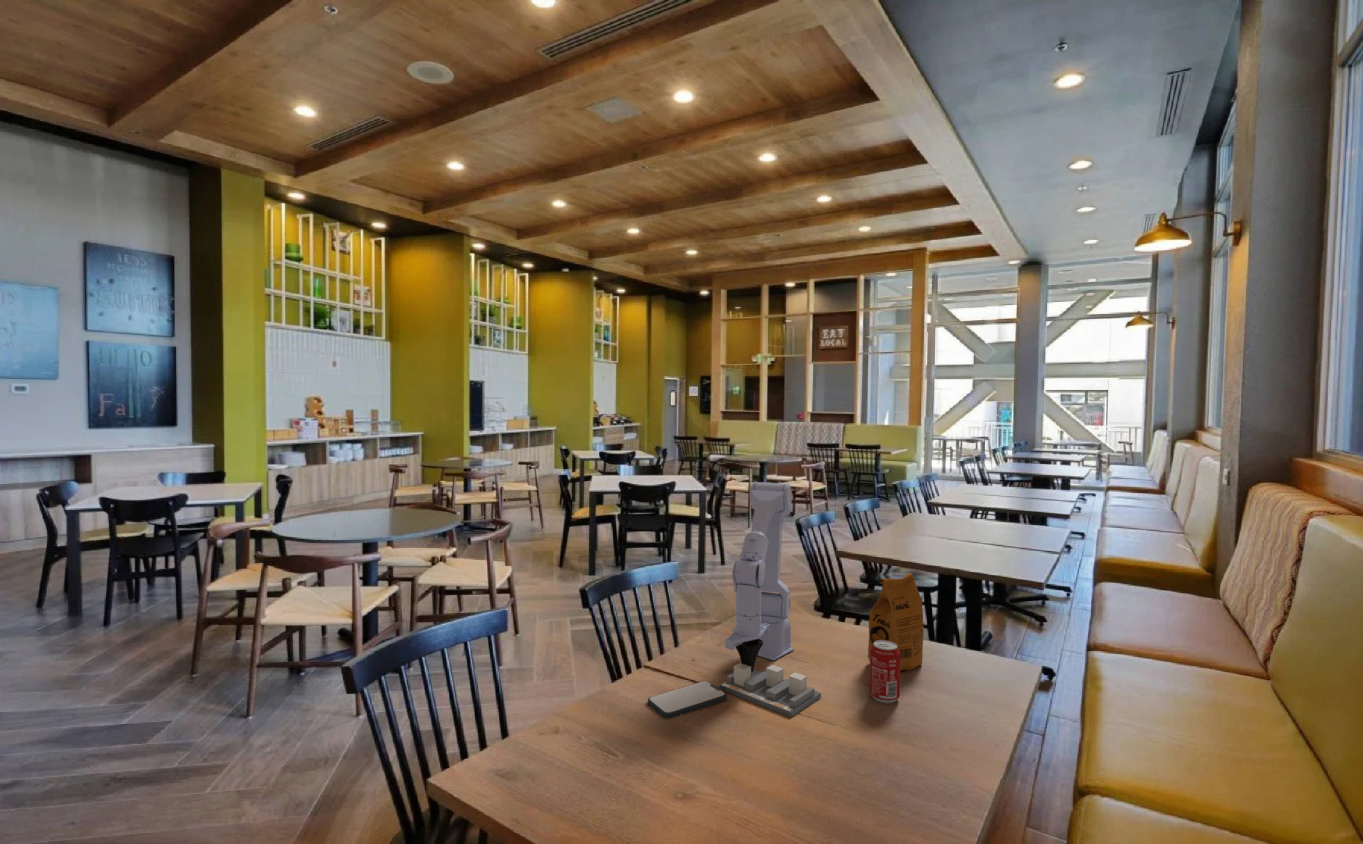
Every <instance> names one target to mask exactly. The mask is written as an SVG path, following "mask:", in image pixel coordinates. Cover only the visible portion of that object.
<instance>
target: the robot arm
mask: <svg viewBox="0 0 1363 844" xmlns="http://www.w3.org/2000/svg"><path fill="white" fill-rule="evenodd" d="M792 494H793V492H792V486H791V485H790V483H787V482H786V483H781V482H780V483H779V482H764V481H763V482H758V481H753V483H752V484H751V485H750V488H749V500H750V504H751V507H752V509H753V510H754V511H753V517H752V525H751V530H750V532H748V533H747V534H746V535H745V537H744V541H743V544H742V548H741V551H740V556H739V559H738V561H737V560H736V561H735V562H734V563H733V566H732V567H733V568H732V573H731V574H732V576H731V577H732V582H733V591H734V593H735V627H732V630H731V631H732V633H731V635H730V636H729V637H728V638H726V639H725V641H724V644H725V649H728V650H731V651H733V650H735V649H736V651H737V653H738V655H739V658H740V663H742V664H745V665H748V666H750V667H751V673H752V672H753V669H754V668H755V666H756V665H755V664H756V663H757V662H756V661H757V657H758V656H759V657H762V658H765V659H767V660H771V661H775V660H777V659H778V660H779V658H781V657H783V656H785V655H788V654H789V653H791V652H792V651H794V650H795V649H794V647H792V643H791V641H792V638H791V637H792V635H791V634H792V627H791V626H792V625H791V622H790V620H789V617H790V613H791V605H792V604H791V591H790V588H789V587H788V586H787V585H786V584H785V583H784V582H783V581H782V580H781V564H782V563H781V561H782V543H783V542H782V541H783V523H784V519H785V517H787V516H790V515H791V511H792V499H793V495H792ZM754 670H755V669H754Z"/></svg>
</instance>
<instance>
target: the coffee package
mask: <svg viewBox="0 0 1363 844" xmlns="http://www.w3.org/2000/svg"><path fill="white" fill-rule="evenodd" d="M879 584H880V585H881V586H882V589H881V591H880V592H879V596H878V599H877V600H876V602H875V603H874V605H873V607H872V609H871V611H870V612H869V613H870V614H869V619H868V646H867V649H868V650H867V651H868V652H867V658H868V660H869V661H868V662H870V649H871V647H872V646H873V643H874V642H875V641H879V640H885V641H891V642H893V643H895V644H896V645H897V648H898V650H899V651H900V672H901V671H903V670H904V671H905V670H906V671H912V669H913V670H915V669H916V668H918V667H919V666H921V665H923V655H924V654H923V651H924V650H923V647H924V611H923V610H924V609H923V601H922V597H921V594H920V592H919V590H918V586H917V583H916V581H915V578H914V576H913V573H911V572H908V573H906V574H905V575H904V576H903V577H902V578H884V577H883V578H881V579H880V580H879Z"/></svg>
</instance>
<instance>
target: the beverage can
mask: <svg viewBox="0 0 1363 844" xmlns="http://www.w3.org/2000/svg"><path fill="white" fill-rule="evenodd" d="M900 691H901V671H900V651H899V650H898V648H897V645H896V644H895V643H893V642H891V641H885V640H879V641H875V642H874V643H873V646H872V647H871V649H870V661H869V694H870V696H872V698H873V700H875V701H876V702H879V703H880V704H881V703H882V704H893V703H895V702H896V701H897V700H898V699H899V698H900V697H901V696H900V695H901V694H900Z"/></svg>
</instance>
